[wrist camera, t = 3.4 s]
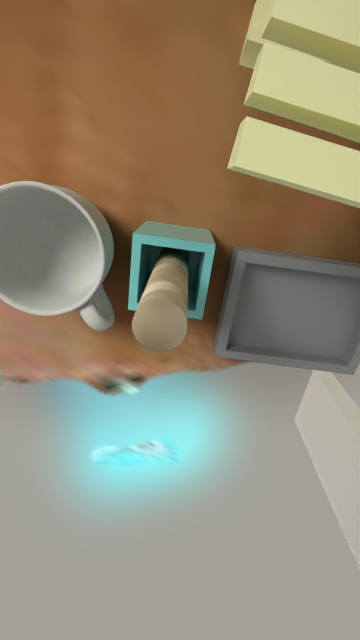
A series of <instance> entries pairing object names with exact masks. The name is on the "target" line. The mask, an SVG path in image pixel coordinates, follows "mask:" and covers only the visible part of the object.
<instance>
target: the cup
mask: <svg viewBox="0 0 360 640" xmlns="http://www.w3.org/2000/svg"><path fill="white" fill-rule="evenodd" d="M215 246H216V244H215V242H214V239H213V237H212V234H211V232H210V230H209V229H202V228H195V227H188V226H181V225H174V224H167V223H160V222H153V221H146V222H144V223H143V224H142V225H141V226H140V227H139V228H138V229H137V230H136V231H134V232H133V237H132V253H131V269H130V285H129V301H128V310H134V311H136V310H137V307H138V305H139V302H140V300H141V298H142V295H143V293H144V290H145V288H146V286H147V283H148V281H149V278H150V276H151V274H152V271H153V269H154V266H155V264H156V262H157V259H158V257H159V254H160V252H161V250H162V249H163V248H164V247H169V248H176V249H183V250H186V251H187V253H188V312H187V318H194V319H202V318H203V312H204V307H205V301H206V296H207V290H208V285H209V279H210V274H211V268H212V263H213V257H214V252H215Z"/></svg>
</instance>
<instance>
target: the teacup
mask: <svg viewBox="0 0 360 640" xmlns="http://www.w3.org/2000/svg"><path fill="white" fill-rule="evenodd" d="M113 256H114V242H113V236H112V233H111V230H110V227H109V225H108V223H107V221H106V219H105V217H104V216H103V214H102V213H101V212H100V211H99V209H98V208H97V207H96V206H95V205H94V204H93V203H92V202H90V201H89V200H88V199H86V198H85V197H83V196H82V195H80V194H78V193H76V192H74V191H72V190H69V189H66V188H62V187H58V186H53V185H48V184H45V183H40V182H36V181H16V182H13V183H9V184H5V185H3V186H0V298H1V299H2V300H3V301H4V302H5V303H7V304H9V305H11V306H12V307H14V308H16V309H18V310H21V311H24V312H27V313H30V314H34V315H40V316H54V315H60V314H64V313H67V312H70V311H73V310H75V309H77V308H78V309H79V311H80V314H81V316H82V318H83V319H84V321H85V322H86V323H87V324H88V325H89V326H90V327H91V328H92V329H94V330H97V331H103V330H105V329H107V328H109V327H110V326H111V325H112V324H113V322H114V318H115V316H114V311H113V308H112V305H111V303H110V301H109V299H108V297H107V295H106V293H105V291H104V288H103V284H102V282H103V281H104V279H105V278H106V276H107V274H108V272H109V270H110V268H111V265H112V262H113ZM94 303H95V304H94ZM95 305H96V307H97V309H98V310H97V309H96V307H95Z"/></svg>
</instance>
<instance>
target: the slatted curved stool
mask: <svg viewBox="0 0 360 640" xmlns="http://www.w3.org/2000/svg"><path fill="white" fill-rule="evenodd" d="M239 65H241V66H244V67H248V68H251V69H254V71H253V74H252V78H251V81H250V84H249V88H248V91H247V95H246V98H245V102H244V105H246V106H249V107H252V108H256V109H259V110H262V111H265V112H268V113H271V114H274V115H277V116H281V117H284V118H287V119H290V120H293V121H296V122H299V123H302V124H305V125H308V126H311V127H314V128H317V129H320V130H323V131H326V132H329V133H332V134H335V135H337V136H340V137H343V138H346V139H349V140H352V141H354V142H357V143H360V0H256V3H255V6H254V9H253V13H252V17H251V21H250V24H249V28H248V32H247V35H246V39H245V43H244V47H243V50H242V54H241V58H240V61H239ZM227 169H230V170H233V171H237V172H240V173H243V174H247V175H250V176H254V177H257V178H260V179H264V180H267V181H270V182H274V183H277V184H281V185H284V186H287V187H291V188H294V189H297V190H301V191H304V192H307V193H311V194H314V195H317V196H321V197H324V198H327V199H331V200H334V201H337V202H340V203H344V204H347V205H350V206H353V207H357V208H360V151H357V150H354V149H351V148H348V147H344V146H341V145H338V144H335V143H331V142H328V141H325V140H322V139H319V138H315V137H312V136H309V135H306V134H302V133H299V132H296V131H293V130H290V129H286V128H283V127H280V126H277V125H273V124H270V123H267V122H264V121H260V120H257V119H254V118H251V117H248V116H247V117H246V118H245V119H244V120H243V121H242V122H241V124H240V126H239V129H238V133H237V136H236V140H235V143H234V147H233V150H232V153H231V157H230V160H229V164H228V167H227Z"/></svg>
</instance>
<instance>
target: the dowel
mask: <svg viewBox="0 0 360 640" xmlns="http://www.w3.org/2000/svg"><path fill="white" fill-rule="evenodd" d="M187 312H188V253H187V251H186V250H183V249H176V248H169V247H164V248H163V249H162V250H161V252H160V254H159V257H158V259H157V262H156V264H155V266H154V269H153V271H152V274H151V276H150V278H149V281H148V283H147V286H146V288H145V290H144V293H143V295H142V298H141V300H140V302H139V305H138V307H137V310H136V312H135V314H134V317H133V320H132V331H133V334H134V336H135V338H136V339H137V341H138V342H139V343H140V344H141V345H143V346H144V347H146V348H148V349H150V350H153V351H168V350H171V349H173V348H175V347H177V346H178V345H179V344H180V343H181V342H182V341H183V340H184V338H185V336H186V333H187Z"/></svg>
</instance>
